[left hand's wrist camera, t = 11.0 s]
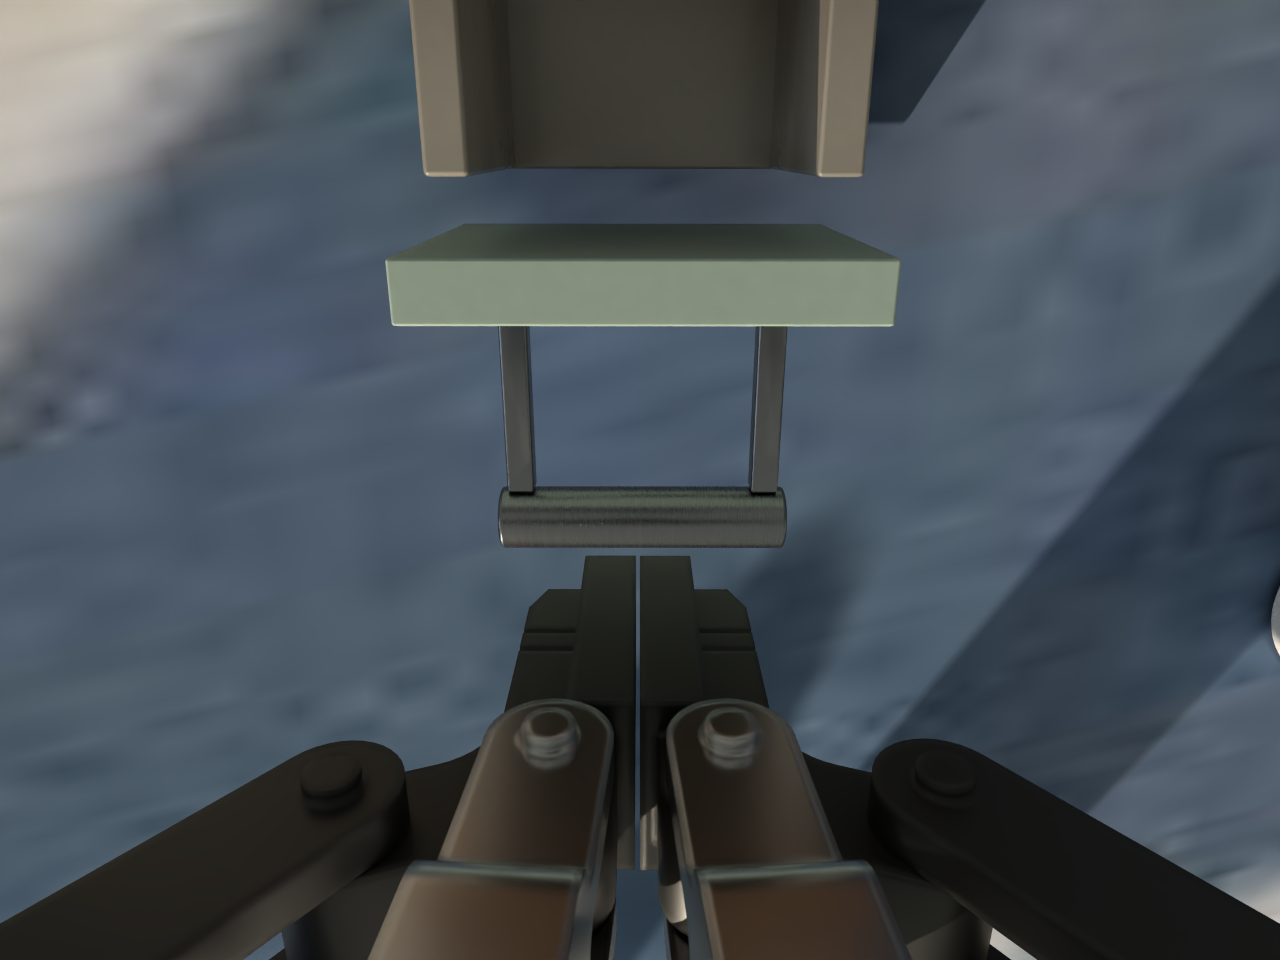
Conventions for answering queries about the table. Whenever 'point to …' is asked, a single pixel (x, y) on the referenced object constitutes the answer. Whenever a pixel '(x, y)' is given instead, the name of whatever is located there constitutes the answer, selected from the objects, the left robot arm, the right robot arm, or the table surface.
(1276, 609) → the coffee cup
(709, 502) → the drawer
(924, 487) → the table surface
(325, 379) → the table surface
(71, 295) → the table surface
